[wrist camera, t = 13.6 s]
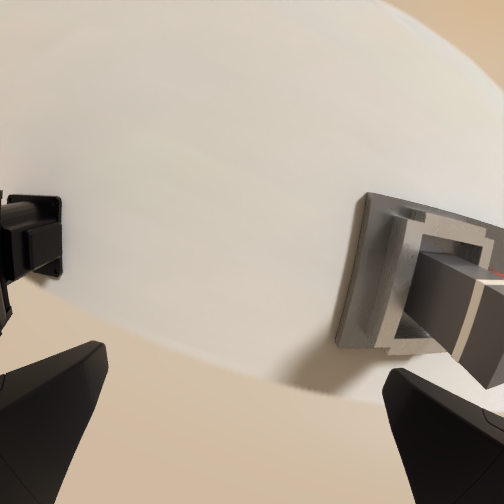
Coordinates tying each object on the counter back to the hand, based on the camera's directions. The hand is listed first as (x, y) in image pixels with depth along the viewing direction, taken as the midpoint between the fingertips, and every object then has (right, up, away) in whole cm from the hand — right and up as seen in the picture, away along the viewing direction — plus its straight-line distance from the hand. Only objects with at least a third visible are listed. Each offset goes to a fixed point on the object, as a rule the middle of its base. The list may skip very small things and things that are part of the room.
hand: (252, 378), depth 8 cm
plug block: (+14, +1, +13) cm, 19 cm away
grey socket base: (+16, +1, +14) cm, 21 cm away
